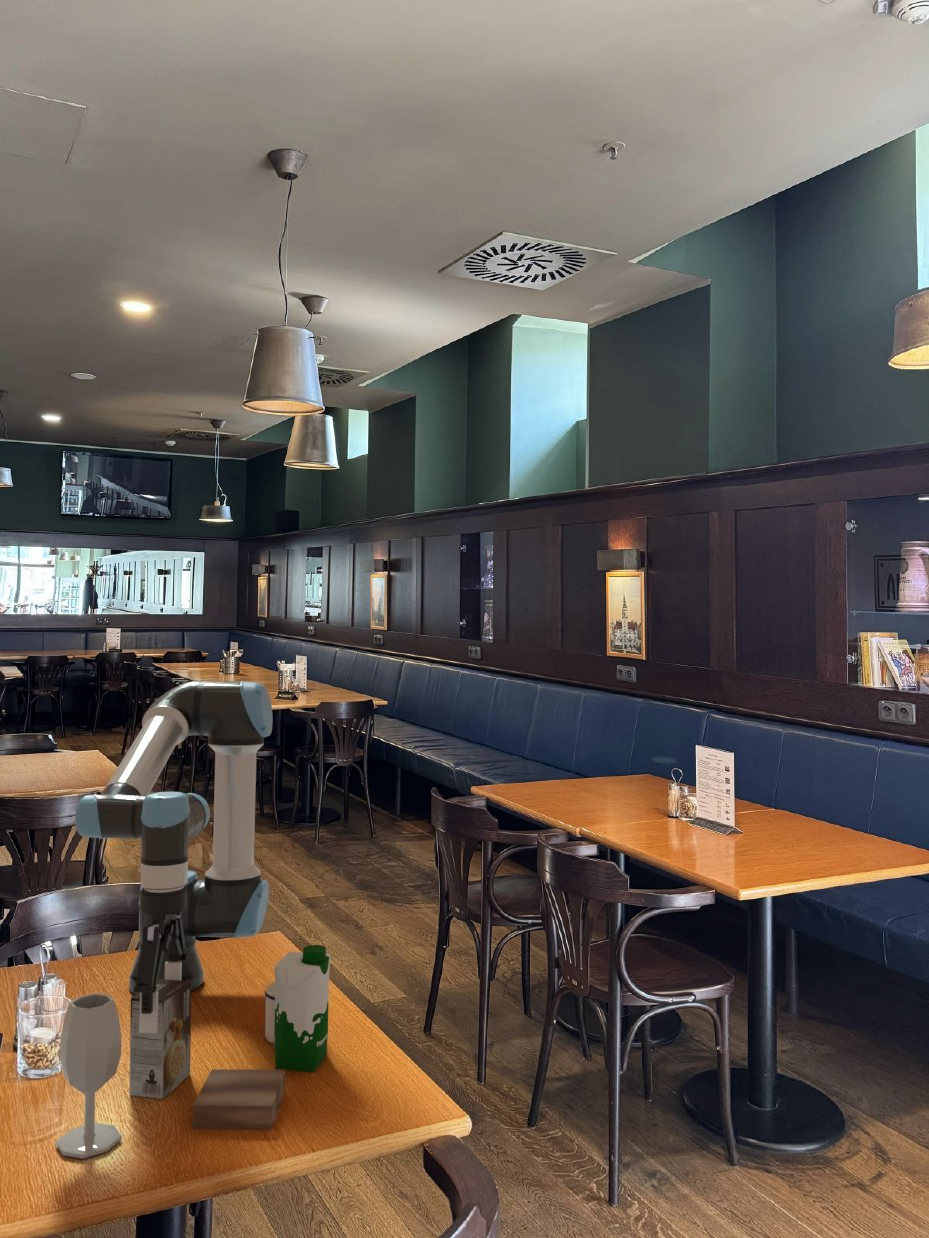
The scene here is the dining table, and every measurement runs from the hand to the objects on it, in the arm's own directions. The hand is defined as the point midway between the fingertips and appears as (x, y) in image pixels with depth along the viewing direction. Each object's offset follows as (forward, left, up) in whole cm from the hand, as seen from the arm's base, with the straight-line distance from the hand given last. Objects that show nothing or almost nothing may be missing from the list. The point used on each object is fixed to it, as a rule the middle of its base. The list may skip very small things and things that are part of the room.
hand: (160, 1015), depth 159 cm
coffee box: (0, 0, -12) cm, 12 cm away
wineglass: (+18, -5, -12) cm, 22 cm away
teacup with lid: (-21, +18, -12) cm, 30 cm away
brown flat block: (+8, +15, -12) cm, 21 cm away
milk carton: (-9, +22, -12) cm, 27 cm away
